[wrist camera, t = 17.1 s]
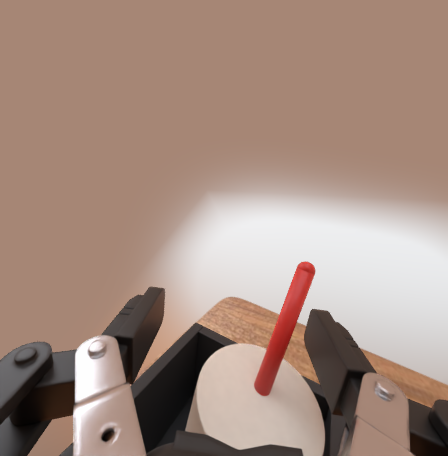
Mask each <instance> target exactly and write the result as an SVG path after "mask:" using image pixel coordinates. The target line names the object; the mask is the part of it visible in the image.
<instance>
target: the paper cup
mask: <svg viewBox="0 0 448 456" xmlns="http://www.w3.org/2000/svg"><path fill="white" fill-rule="evenodd" d="M314 275H315V268H314V266H313V265H312V264H311V263H309V262H301V263H300V264H299V265H298V266H297V269H296V272H295V274H294V277H293V280H292V282H291V285H290V288H289V290H288V293H287V296H286V299H285V301H284V304H283V307H282V309H281V312H280V315H279V318H278V320H277V323H276V326H275V328H274V331H273V334H272V336H271V339H270V342H269V345H268V347H267V349H265V348H263V347H260V346H256V345H251V344H233V345H229V346H225V347H223V348H221V349H219V350H218V351H216V352H215V353H214V354H212V355H211V356H210V357H209V358H208V360H207V361H206V362H205V364H204V365H203V367H202V369H201V372H200V374H199V377H198V381H197V385H196V389H195V393H194V397H193V401H192V405H191V409H190V413H189V417H188V421H187V425H186V429H185V431H186V432H193V433H199V434H206V435H209V436H211V437H213V438H215V439H217V440H219V441H221V442H223V443H225V444H227V445H229V446H231V447H234V448H236V449H239V450H242V449H248V448H253V447H258V446H263V445H269V444H273V445H280V446H287V447H294V448H300V449H302V452H303V456H323V452H324V446H325V429H324V422H323V418H322V414H321V410H320V408H319V405H318V402H317V400H316V398H315V396H314V394H313V392H312V390H311V389H310V387H309V385H308V384H307V383H306V381H305V380H304V378H303V377H302V376H301V375H300V374H299V372H298V371H297V370H296V369H295V368H294V367H293V366H292V365H290V364H289V363H288V362H287V361H286V360H284V359H283V357H284V354H285V352H286V349H287V346H288V344H289V341H290V338H291V336H292V333H293V331H294V328H295V325H296V323H297V320H298V317H299V314H300V312H301V309H302V307H303V304H304V301H305V299H306V296H307V293H308V290H309V288H310V285H311V283H312V280H313V277H314Z"/></svg>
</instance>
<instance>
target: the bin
mask: <svg viewBox="0 0 448 456" xmlns="http://www.w3.org/2000/svg"><path fill="white" fill-rule="evenodd" d="M233 344H238V343H236V342H234V341H232V340H230V339H228V338H226V337H224V336H222V335H220V334H218V333H216V332H214V331H212V330H210V329H208V328H206V327H203V326H202V325H200V324H198V323H195V324H194V325H193V326H192V327H191V328H190V329H189V330H188V331H187V332H186V333H185V334H183V335H182V336H181V337H180V338H179V339H178V340H177V341H176V342H175V343H174V344H173V345H172V346H171V347H170V348H169V349H168V350H167V351H166V352H165V353H164V354H163V355H162V356H161V357H160V358H159V359H158V360H157V361H156V362H155V363H154V364H153V365H152V366H151V367H150V368H149V369H148V370H147V371H146V372H144V373H143V374H142V375H141V376H140V377H139V378H138V379H137V380H136V381H135V382H134V383H133V385H131V386H130V387H131V391H132V396H133V400H134V404H135V409H136V413H137V417H138V421H139V426H140V430H141V434H142V439H143V443H144V447H145V452H146V454H147V453H148V452H150V451H151V450H153V449H155V448H157V447H159V446H162V445H165V444H168V443H173V442H174V439H175V435H176V431H177V430H179V431H185V429H186V425H187V421H188V417H189V413H190V409H191V405H192V401H193V397H194V393H195V389H196V385H197V381H198V377H199V374H200V372H201V369H202V367H203V365H204V364H205V362H206V361H207V360H208V358H209V357H210V356H211V355H212V354H214V353H215V352H216V351H218V350H219V349H221V348H223V347H225V346H229V345H233ZM301 376H302V375H301ZM302 377H303V378H304V380H305V381H306V383H307V384H308V385H309V387H310V389H311V390H312V392H313V394H314V396H315V398H316V400H317V402H318V405H319V408H320V410H321V414H322V418H323V422H324V429H325V446H324V452H323V456H337V453H338V449H339V445H340V441H341V437H342V433H343V429H344V426H345V423H346V421H345V419H344V416H339V415H332V413H331V410H330V408H329V405H328V403H327V400H326V398H325V395H324V392H323V390H322V387H321V385H320V384H318V383H316V382H314V381H312V380H310V379H308V378H306V377H304V376H302ZM59 456H73V443H72V444H71V445H70V446H69V447H68V448H66V449H65V450H64V451H63V452H62V453H61V454H60V455H59Z"/></svg>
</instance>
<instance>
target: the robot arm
mask: <svg viewBox="0 0 448 456" xmlns="http://www.w3.org/2000/svg"><path fill="white" fill-rule="evenodd" d="M164 299H165V289H164V288H157V287H149V288H148V290H147V291H146V293H145V294H144V295H137V296H135V297H134V298H132V299H130V300H129V301H128V302H127V304H126V305H125V306H124V308H123V309H122V310H121V311H120V312H119V314H118V315H117V316H116V317H115V319H114V320H113V321H112V322H111V323H110V325H109V326H108V327H107V328H106V330H105V331H104V332H103V333H102V335H101V336H96V337H93V338H91V339H89V340H87V341H85V342H84V343H83V344H81V345H80V347H79V348H78V349H76V350H70V351H62V352H55V353H52V349H51V346H50V345H49V344H48V343H46V342H33V343H29V344H25V345H23V346H20V347H18V348H16V349H14V350H13V351H11V352H10V353H8V354H7V355H6V356H4V357H3V358H2V359H1V360H0V456H27V455H28V454H29V452H30V451H31V449H32V448H33V446H34V445H35V444H36V442H37V441H38V439H39V438H40V436H41V435H42V433H43V432H44V431H45V429H46V428H47V426H48V425H49V423H50V422H51V420H52V419H57V418H61V417H66V416H71V415H73V456H303V452H302V449H300V448H294V447H287V446H280V445H273V444H269V445H263V446H258V447H253V448H248V449H242V450H239V449H236V448H234V447H231V446H229V445H227V444H225V443H223V442H221V441H219V440H217V439H215V438H213V437H211V436H209V435H206V434H199V433H193V432H186V431H179V430H177V431H176V435H175V439H174V442H173V443H168V444H165V445H162V446H159V447H157V448H155V449H153V450H151V451H150V452H148V453H147V454H146V452H145V447H144V443H143V439H142V434H141V430H140V426H139V421H138V417H137V413H136V409H135V404H134V400H133V396H132V391H131V387H130V384H132V385H133V383H134V381H135V378H136V376H137V374H138V372H139V370H140V368H141V366H142V364H143V362H144V360H145V358H146V355H147V353H148V351H149V349H150V347H151V345H152V343H153V341H154V339H155V337H156V335H157V333H158V330H159V328H160V326H161V324H162V320H163V316H164ZM304 341H305V346H306V349H307V351H308V354H309V357H310V359H311V362H312V364H313V367H314V369H315V372H316V375H317V377H318V380H319V382H320V385H321V387H322V390H323V392H324V395H325V398H326V400H327V403H328V405H329V408H330V410H331V413H332V415H339V416H344V419H345V421H346V423H345V426H344V429H343V433H342V437H341V441H340V445H339V449H338V453H337V456H448V401H446V400H437V401H435V403H434V405H433V407H432V408H430V407H427V406H425V405H422V404H420V403H417V402H415V401H412V400H410V399H407V397H406V396H405V394H404V393H403V391H402V390H401V389H400V388H399V387H398V386H397V385H396V384H395V383H393V382H392V381H391V380H389V379H388V378H386V377H384V376H382V375H379V374H377V373H376V371H375V370H374V368H373V367H372V365H371V364H370V362H369V361H368V359H367V358H366V357H365V355H364V354H363V352H362V351H361V349H360V348H358V345H357V344H356V342H355V341H354V340H353V338H352V336H351V335H350V334H349V332H348V331H347V330H346V329H345V328H344V327H343V326H342V325H341V324H339V323H338V322H335V321H334V319H333V318H332V316H331V315H330V313H329V312H328V311H324V310H317V309H312V310H311V312H310V315H309V319H308V322H307V326H306V330H305V334H304Z"/></svg>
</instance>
